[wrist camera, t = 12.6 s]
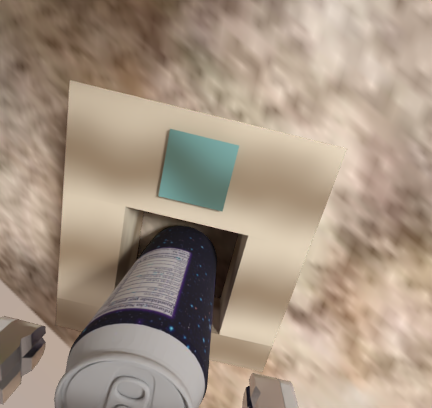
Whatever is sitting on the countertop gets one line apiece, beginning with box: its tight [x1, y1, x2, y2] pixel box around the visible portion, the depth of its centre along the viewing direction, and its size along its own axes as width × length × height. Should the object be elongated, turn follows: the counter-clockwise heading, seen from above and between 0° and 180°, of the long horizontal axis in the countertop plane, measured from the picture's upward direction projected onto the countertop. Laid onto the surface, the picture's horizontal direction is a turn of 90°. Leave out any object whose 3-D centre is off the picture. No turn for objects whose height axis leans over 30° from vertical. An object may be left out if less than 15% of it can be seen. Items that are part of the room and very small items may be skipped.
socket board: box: [55, 80, 347, 372], centre depth 17 cm, size 17×16×4 cm
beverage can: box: [54, 226, 217, 408], centre depth 14 cm, size 6×6×12 cm
